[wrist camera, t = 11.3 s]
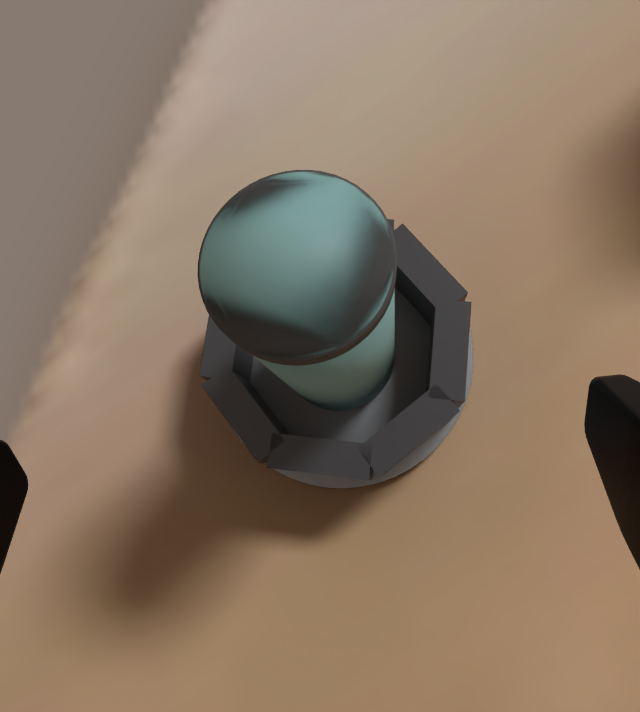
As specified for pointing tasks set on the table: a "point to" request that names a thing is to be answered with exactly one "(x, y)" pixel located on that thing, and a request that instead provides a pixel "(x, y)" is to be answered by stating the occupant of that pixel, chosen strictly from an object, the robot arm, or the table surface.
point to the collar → (379, 416)
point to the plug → (306, 284)
